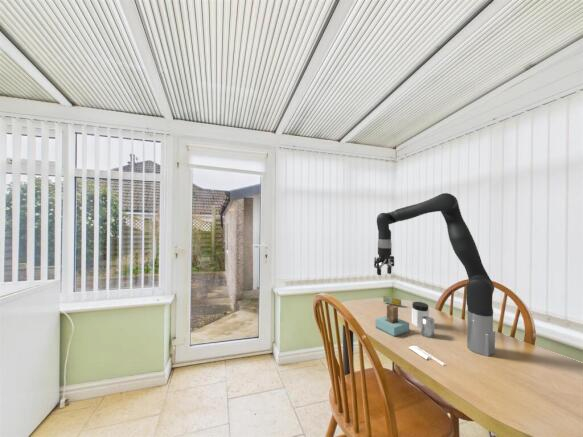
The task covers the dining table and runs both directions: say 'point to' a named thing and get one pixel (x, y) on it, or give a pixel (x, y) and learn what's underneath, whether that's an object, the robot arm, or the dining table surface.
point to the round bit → (427, 327)
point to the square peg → (392, 314)
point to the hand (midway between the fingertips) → (384, 274)
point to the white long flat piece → (424, 354)
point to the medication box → (392, 300)
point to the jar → (419, 312)
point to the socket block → (392, 326)
